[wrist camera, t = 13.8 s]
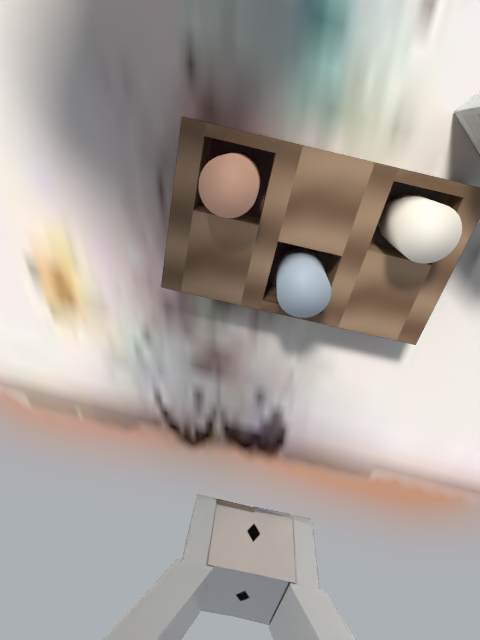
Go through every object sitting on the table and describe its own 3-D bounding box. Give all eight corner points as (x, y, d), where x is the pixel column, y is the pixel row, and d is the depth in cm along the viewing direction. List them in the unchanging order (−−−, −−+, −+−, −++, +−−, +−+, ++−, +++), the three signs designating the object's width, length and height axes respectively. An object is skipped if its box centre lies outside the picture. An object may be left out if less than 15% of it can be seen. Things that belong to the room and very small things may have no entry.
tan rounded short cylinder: (215, 146, 32) (203, 147, 27) (265, 158, 32) (264, 162, 27) (206, 200, 34) (194, 210, 29) (254, 211, 34) (250, 224, 29)
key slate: (282, 243, 35) (284, 262, 30) (328, 254, 35) (338, 274, 30) (271, 287, 37) (270, 311, 32) (314, 297, 37) (321, 322, 32)
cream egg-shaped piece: (390, 188, 32) (414, 197, 27) (440, 200, 32) (473, 211, 27) (371, 238, 34) (389, 256, 29) (418, 249, 35) (445, 269, 29)
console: (192, 119, 33) (181, 116, 29) (466, 184, 34) (493, 190, 30) (172, 272, 40) (161, 287, 36) (401, 324, 40) (415, 344, 36)
